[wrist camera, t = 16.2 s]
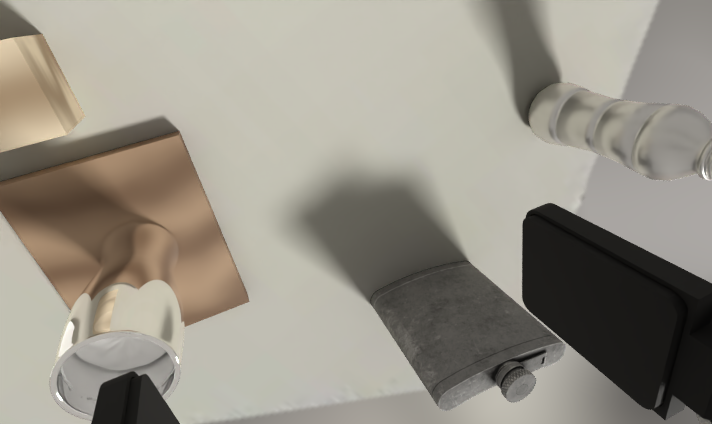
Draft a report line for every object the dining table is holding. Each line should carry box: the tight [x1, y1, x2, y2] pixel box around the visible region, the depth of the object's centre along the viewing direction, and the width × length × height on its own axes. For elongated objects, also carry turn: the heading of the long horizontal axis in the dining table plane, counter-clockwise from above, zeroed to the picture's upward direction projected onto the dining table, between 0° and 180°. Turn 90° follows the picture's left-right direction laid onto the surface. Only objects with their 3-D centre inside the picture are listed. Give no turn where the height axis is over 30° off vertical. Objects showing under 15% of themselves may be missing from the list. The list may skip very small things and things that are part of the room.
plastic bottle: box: [529, 83, 712, 181], centre depth 39 cm, size 6×7×20 cm
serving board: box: [0, 131, 249, 327], centre depth 37 cm, size 18×14×2 cm
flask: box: [371, 261, 566, 411], centre depth 44 cm, size 4×14×18 cm, turn 97°
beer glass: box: [49, 222, 185, 421], centre depth 30 cm, size 7×7×15 cm
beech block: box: [0, 34, 85, 153], centre depth 27 cm, size 6×6×6 cm
